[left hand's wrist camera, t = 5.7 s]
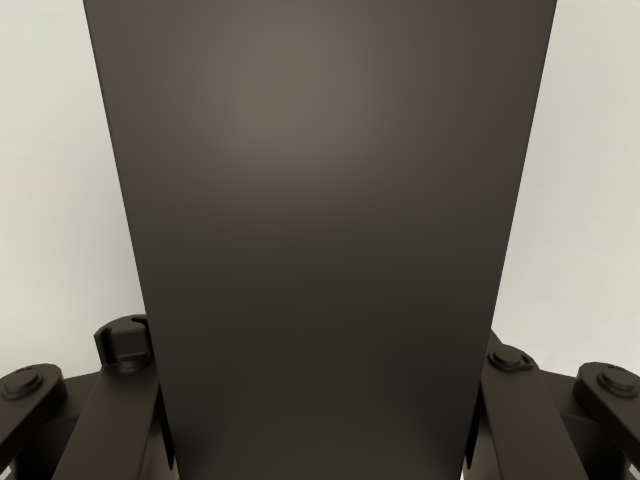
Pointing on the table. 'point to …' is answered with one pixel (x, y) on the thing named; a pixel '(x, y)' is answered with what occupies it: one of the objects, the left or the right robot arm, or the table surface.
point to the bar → (319, 219)
